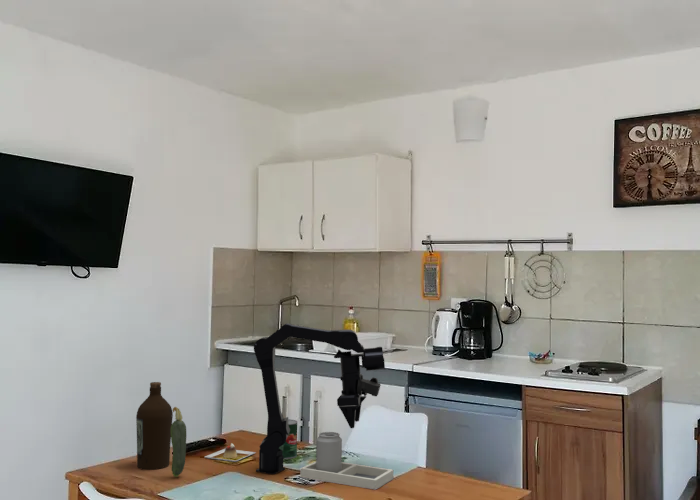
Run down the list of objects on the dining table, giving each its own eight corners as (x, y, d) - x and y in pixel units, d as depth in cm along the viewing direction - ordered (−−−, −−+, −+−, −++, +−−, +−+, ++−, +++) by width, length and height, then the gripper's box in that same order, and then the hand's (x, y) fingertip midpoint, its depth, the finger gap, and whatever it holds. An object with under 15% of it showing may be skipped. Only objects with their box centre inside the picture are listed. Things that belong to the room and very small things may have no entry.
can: (342, 472, 198) (343, 431, 199) (339, 479, 191) (340, 436, 191) (317, 471, 199) (318, 430, 199) (313, 478, 191) (314, 435, 192)
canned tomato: (295, 459, 212) (296, 424, 212) (271, 458, 212) (271, 423, 213) (298, 453, 220) (298, 419, 220) (274, 452, 220) (274, 419, 220)
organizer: (300, 477, 192) (300, 468, 192) (321, 467, 203) (321, 459, 203) (375, 489, 181) (375, 480, 181) (393, 478, 192) (393, 469, 192)
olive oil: (168, 460, 209) (170, 379, 210) (173, 468, 199) (175, 384, 201) (133, 463, 205) (135, 381, 206) (136, 472, 195) (139, 386, 197)
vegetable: (188, 476, 191) (190, 406, 192) (179, 480, 187) (181, 408, 188) (174, 474, 193) (176, 405, 194) (166, 478, 189) (168, 407, 190)
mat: (341, 482, 187) (341, 481, 187) (356, 474, 196) (356, 473, 196) (373, 487, 183) (373, 486, 183) (387, 479, 191) (387, 478, 191)
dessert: (203, 460, 211) (204, 445, 212) (224, 451, 222) (225, 437, 223) (236, 464, 207) (236, 449, 207) (256, 455, 218) (256, 440, 218)
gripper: (373, 375, 189) (377, 430, 188) (381, 366, 208) (385, 417, 207) (334, 377, 191) (339, 432, 190) (346, 368, 209) (349, 418, 208)
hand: (354, 424), depth 199 cm, fingers open, 9 cm apart
